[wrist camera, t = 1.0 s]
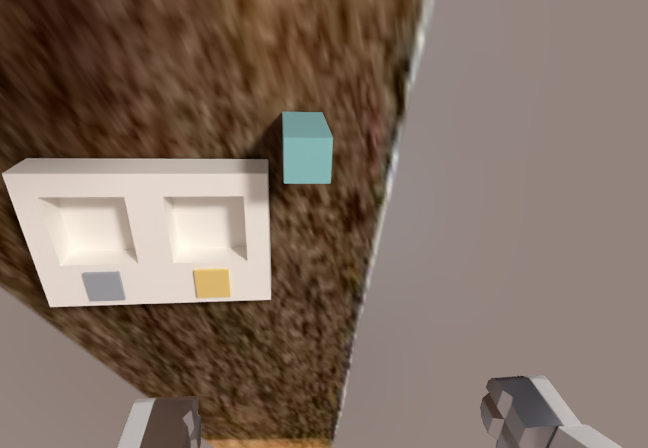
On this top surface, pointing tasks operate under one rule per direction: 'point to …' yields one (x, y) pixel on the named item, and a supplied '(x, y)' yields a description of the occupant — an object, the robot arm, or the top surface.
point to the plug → (306, 148)
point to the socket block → (145, 229)
